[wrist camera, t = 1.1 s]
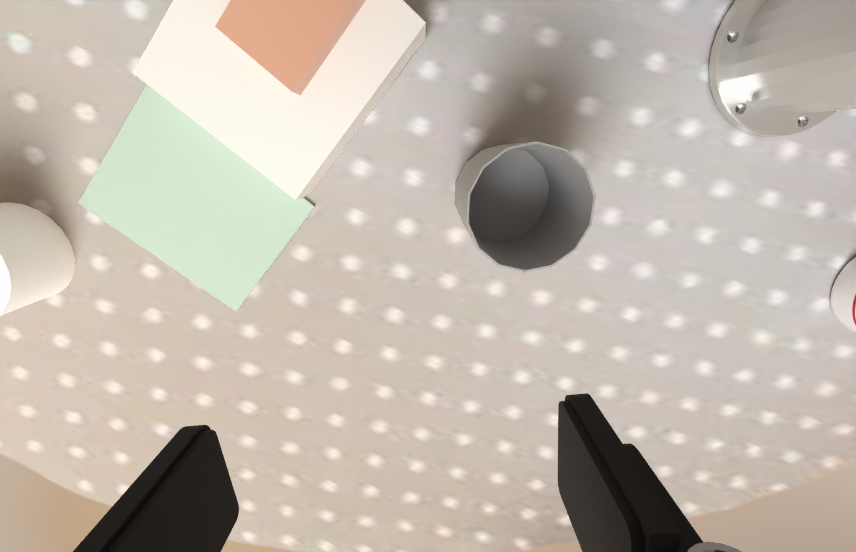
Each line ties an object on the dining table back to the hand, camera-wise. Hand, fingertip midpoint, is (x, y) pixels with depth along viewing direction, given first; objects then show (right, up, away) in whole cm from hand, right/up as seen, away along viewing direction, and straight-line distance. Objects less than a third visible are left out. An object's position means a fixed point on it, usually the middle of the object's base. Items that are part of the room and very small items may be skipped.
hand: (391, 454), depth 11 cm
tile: (-8, +23, +17) cm, 29 cm away
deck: (-10, +22, +21) cm, 32 cm away
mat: (-19, +11, +24) cm, 33 cm away
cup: (+8, +12, +25) cm, 29 cm away
